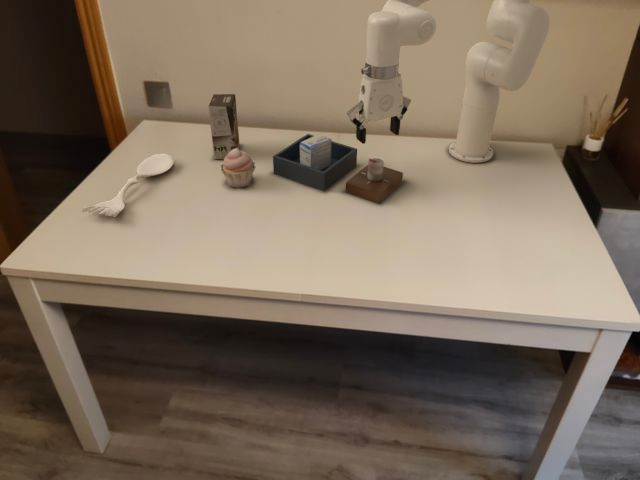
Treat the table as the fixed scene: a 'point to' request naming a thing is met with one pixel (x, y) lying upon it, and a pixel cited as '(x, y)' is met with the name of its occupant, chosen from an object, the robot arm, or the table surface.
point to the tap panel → (374, 184)
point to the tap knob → (375, 169)
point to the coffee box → (223, 124)
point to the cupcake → (238, 168)
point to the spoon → (145, 169)
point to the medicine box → (316, 152)
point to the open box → (291, 168)
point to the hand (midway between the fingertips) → (377, 137)
